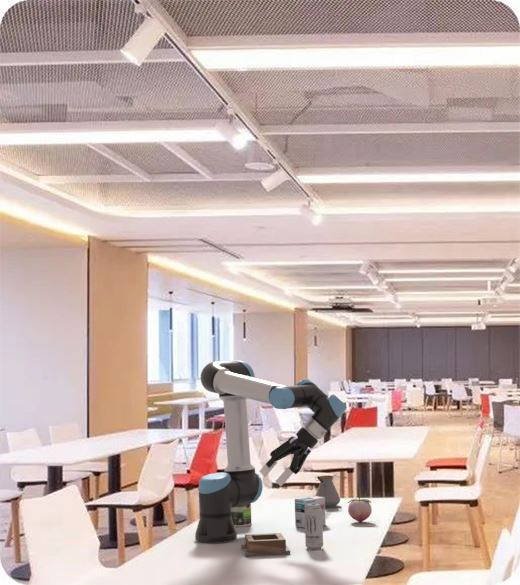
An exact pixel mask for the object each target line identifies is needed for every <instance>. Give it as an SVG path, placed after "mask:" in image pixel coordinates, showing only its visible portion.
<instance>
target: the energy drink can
mask: <svg viewBox="0 0 520 585" xmlns="http://www.w3.org/2000/svg"><path fill="white" fill-rule="evenodd" d="M323 527H324V525H322V508H321V507H320V504H318V503H310V504H306V508H305V528H304V538H305V547H306V548H307V550H309V549H310V551H318V550H317V549H319V550H322V549H321V548H323V547H324V532H323V531H324V530H323Z"/></svg>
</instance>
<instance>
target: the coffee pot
mask: <svg viewBox="0 0 520 585" xmlns="http://www.w3.org/2000/svg"><path fill="white" fill-rule="evenodd" d="M334 477H335V476H334V475H319V476H316V477H314V479H315V482H318V481H319V485H318V487H317V491H316V492H315V495H314V496H319V497H325V509H328V508H329V509H330V508H335V507H337V505H339V504H340V502H341V497H340V496H339V493H338V491H337V488H336V487H335V485H334V482H333V479H334ZM316 478H317V480H316Z"/></svg>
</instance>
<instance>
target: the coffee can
mask: <svg viewBox="0 0 520 585" xmlns="http://www.w3.org/2000/svg"><path fill="white" fill-rule="evenodd" d="M231 517H232V521H233V524H234V526H235V528H242V527H243V528H244V527H248V526H251V525H252V503H250V504H248V505H240V506H236V507H231Z"/></svg>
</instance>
